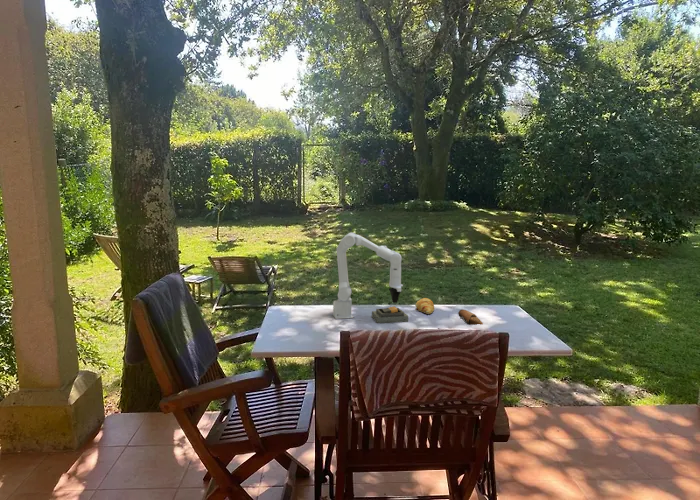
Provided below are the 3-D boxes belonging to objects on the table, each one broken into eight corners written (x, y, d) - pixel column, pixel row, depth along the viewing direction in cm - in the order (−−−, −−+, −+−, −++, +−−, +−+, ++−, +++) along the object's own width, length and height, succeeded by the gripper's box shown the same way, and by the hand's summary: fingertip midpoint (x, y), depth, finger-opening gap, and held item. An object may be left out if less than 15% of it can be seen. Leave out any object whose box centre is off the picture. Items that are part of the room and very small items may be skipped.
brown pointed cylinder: (484, 324, 266) (478, 313, 264) (472, 331, 266) (466, 320, 264) (473, 314, 283) (467, 304, 282) (462, 321, 283) (456, 311, 282)
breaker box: (377, 323, 266) (378, 314, 265) (371, 316, 277) (371, 308, 276) (408, 321, 269) (408, 313, 268) (400, 315, 281) (401, 307, 280)
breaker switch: (384, 314, 269) (384, 311, 269) (382, 311, 274) (381, 309, 274) (397, 311, 271) (397, 308, 270) (394, 309, 276) (394, 306, 275)
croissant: (434, 321, 282) (441, 308, 281) (418, 313, 281) (425, 300, 280) (425, 310, 303) (432, 298, 302) (410, 302, 301) (417, 290, 301)
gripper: (407, 279, 264) (406, 305, 266) (398, 273, 278) (398, 298, 280) (393, 279, 263) (393, 306, 265) (385, 273, 277) (385, 299, 279)
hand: (394, 302), depth 272 cm, fingers closed
